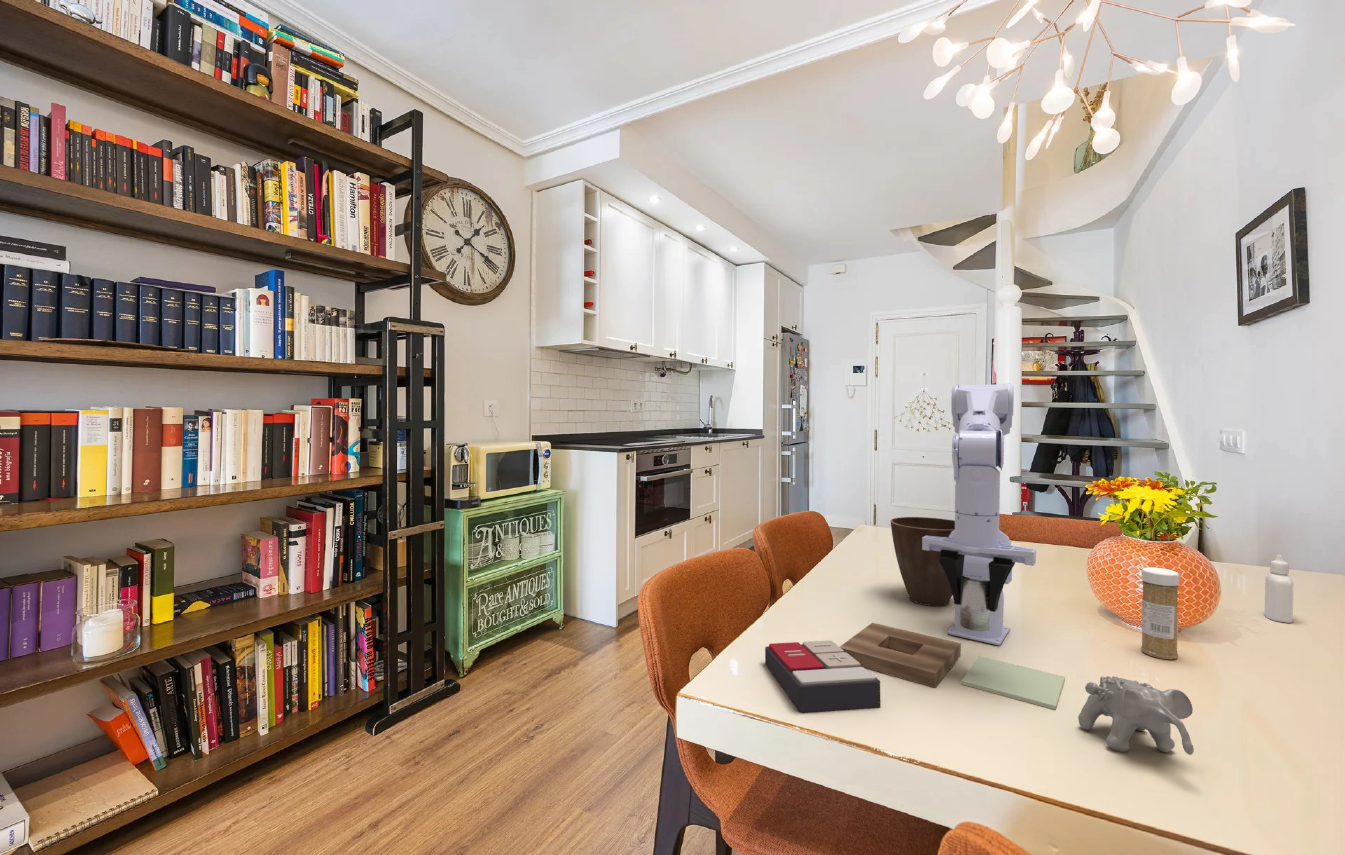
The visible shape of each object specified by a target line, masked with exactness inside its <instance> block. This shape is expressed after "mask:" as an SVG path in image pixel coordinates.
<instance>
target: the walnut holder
mask: <svg viewBox="0 0 1345 855" xmlns="http://www.w3.org/2000/svg"><path fill="white" fill-rule="evenodd" d="M839 647H840V648H841V649H843V650H844V652H846V653H848V654H849V655H850V656H851V657H853V658H854V659H855V660H856V661H858V662H859V663H860V665H861V666H862V667H863V668H865V669H867V670H872V671H875V672H879V673H883V674H886V675H889V676H892V677H896V678H900V679H904V680H907V681H910V682H913V681H914V683H917V684H921V685H925V686H928V687H931V688H934V689H935V688H937V687H938V686H939V685H940V683H941V682H940V681H942V680H943V679H944V678H945V677H946V675H947V674H948V673H949V672H950V670H951V669H952V668H953V667H954V665H955V664H956V663H955V662H957V661H958V660H959V659H958V658H961V655H962V642H958V641H953V640H950V639H944V638H939V637H936V636H931V635H928V634H925V633H924V634H923V633H919V632H914V631H909V630H906V629H901V628H897V627H893V626H888V625H884V624H880V623H875V622H871V623H869V625H867V626H866V627H864V628H863V629H862V630H861V631H859V632H857V633H856V634H855V635H853V636H852V637H851V638H849V639H848V640H847V641H845V642H844V643H843V644H841V645H840V646H839ZM909 653H910V654H909ZM951 667H952V668H951Z"/></svg>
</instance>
